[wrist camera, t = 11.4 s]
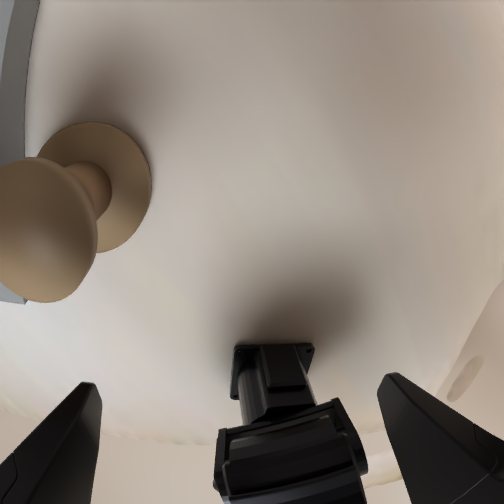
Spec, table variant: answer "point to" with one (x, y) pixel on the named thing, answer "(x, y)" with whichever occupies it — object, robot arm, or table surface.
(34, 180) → the bobbin post
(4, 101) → the notched board
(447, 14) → the table surface
